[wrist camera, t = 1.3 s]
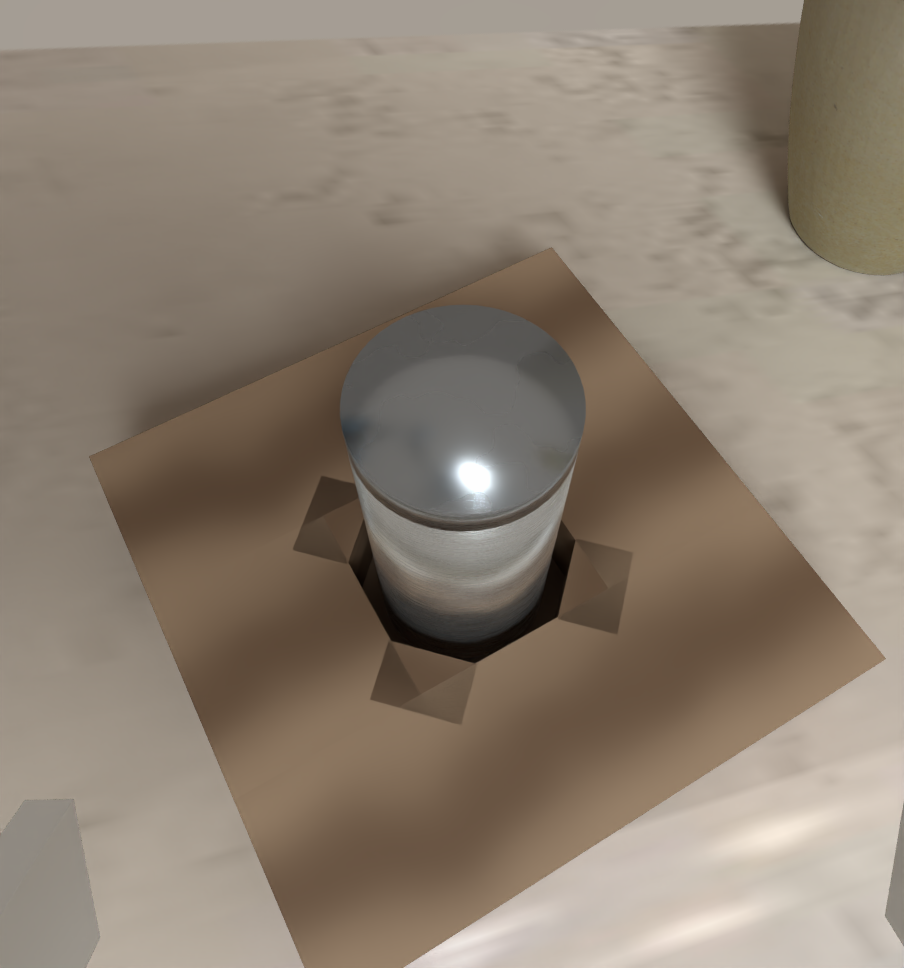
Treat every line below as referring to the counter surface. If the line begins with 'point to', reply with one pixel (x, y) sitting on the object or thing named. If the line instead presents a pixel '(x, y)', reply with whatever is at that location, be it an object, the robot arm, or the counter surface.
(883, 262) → the plant pot
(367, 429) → the silver capped jar
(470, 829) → the walnut socket block
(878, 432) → the counter surface
